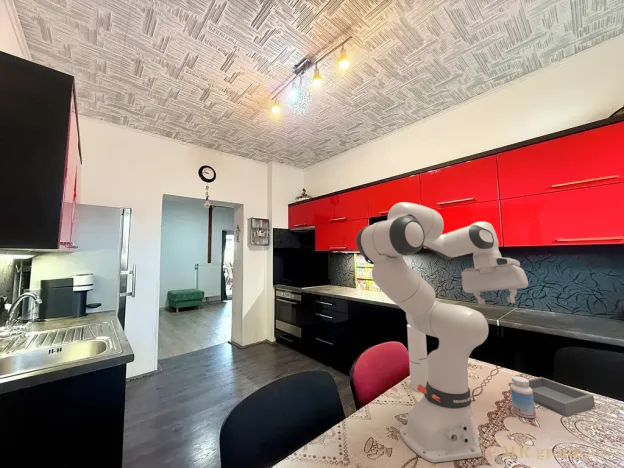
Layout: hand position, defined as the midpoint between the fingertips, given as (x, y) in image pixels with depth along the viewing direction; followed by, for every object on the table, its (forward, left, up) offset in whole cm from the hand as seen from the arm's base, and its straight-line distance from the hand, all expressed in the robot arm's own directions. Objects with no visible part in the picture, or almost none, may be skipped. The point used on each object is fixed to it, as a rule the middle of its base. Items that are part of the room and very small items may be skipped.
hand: (496, 303), depth 89 cm
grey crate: (+27, +2, -37) cm, 46 cm away
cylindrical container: (-12, +27, -38) cm, 48 cm away
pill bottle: (+8, 0, -38) cm, 38 cm away
